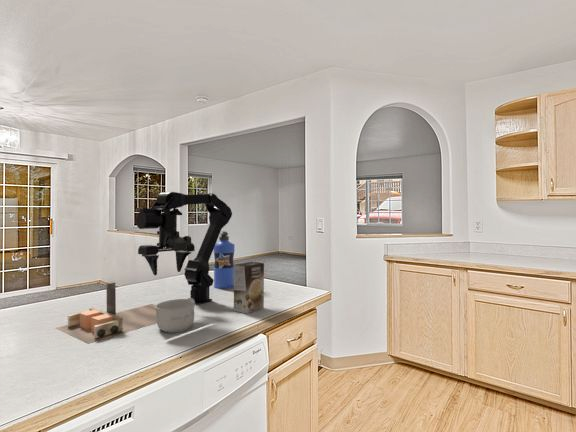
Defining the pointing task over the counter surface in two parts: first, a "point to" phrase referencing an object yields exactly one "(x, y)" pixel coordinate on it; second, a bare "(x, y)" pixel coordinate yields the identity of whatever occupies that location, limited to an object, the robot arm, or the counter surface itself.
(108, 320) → the block
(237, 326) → the counter surface
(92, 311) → the block
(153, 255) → the robot arm
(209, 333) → the counter surface
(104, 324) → the wooden pusher with handle
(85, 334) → the board
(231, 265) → the water bottle
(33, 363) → the counter surface
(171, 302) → the teacup
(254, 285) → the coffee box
